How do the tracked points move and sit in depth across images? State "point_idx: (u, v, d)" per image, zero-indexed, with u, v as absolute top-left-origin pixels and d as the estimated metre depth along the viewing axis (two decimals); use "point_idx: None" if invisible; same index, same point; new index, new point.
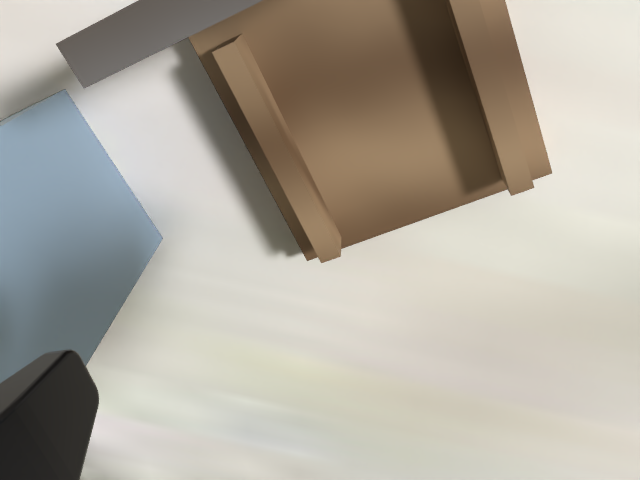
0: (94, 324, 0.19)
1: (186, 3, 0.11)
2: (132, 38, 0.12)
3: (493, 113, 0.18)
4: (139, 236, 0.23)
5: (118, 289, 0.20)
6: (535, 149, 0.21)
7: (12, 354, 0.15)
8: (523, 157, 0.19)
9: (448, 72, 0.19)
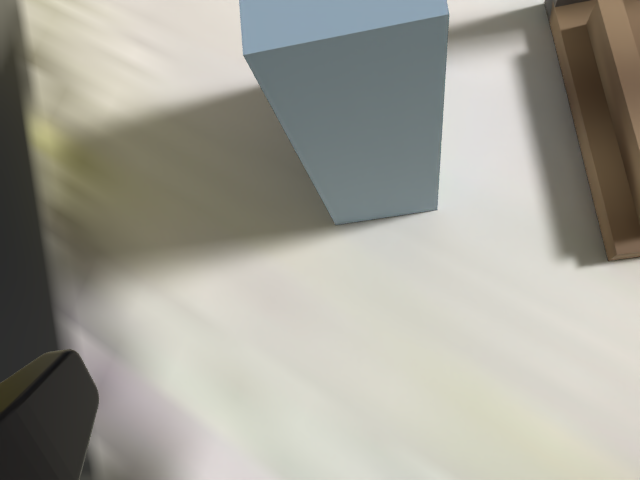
0: None
1: None
2: None
3: None
4: None
5: None
6: None
7: None
8: None
9: None
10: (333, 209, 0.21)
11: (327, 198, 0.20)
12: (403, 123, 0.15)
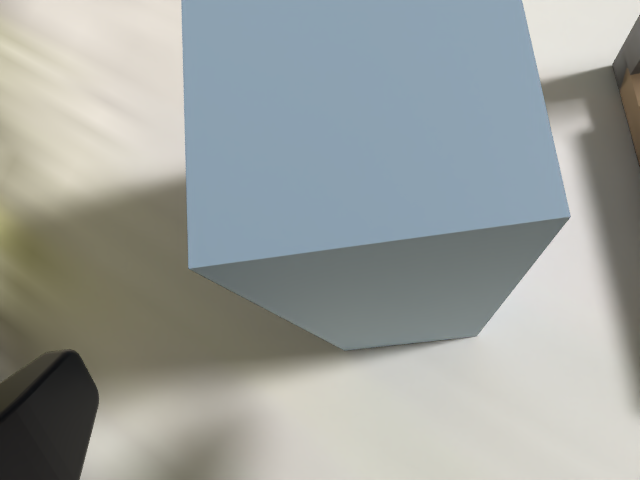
0: None
1: None
2: None
3: None
4: None
5: None
6: None
7: None
8: None
9: None
10: (342, 344, 0.16)
11: (334, 340, 0.15)
12: (451, 297, 0.10)
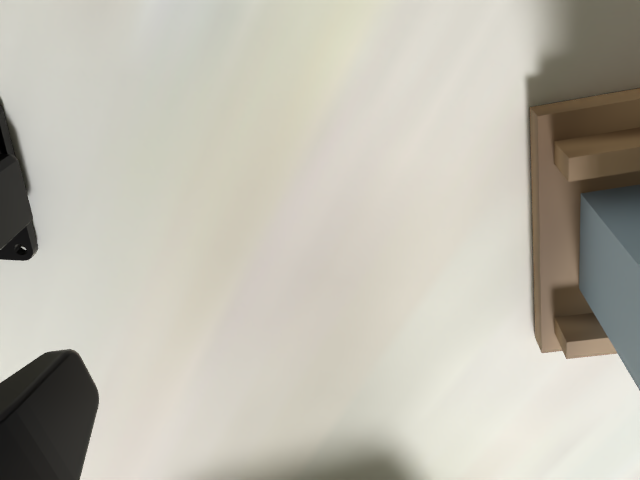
0: None
1: None
2: None
3: None
4: None
5: None
6: None
7: None
8: (600, 353, 0.21)
9: None
10: (601, 225, 0.18)
11: (617, 245, 0.17)
12: None
